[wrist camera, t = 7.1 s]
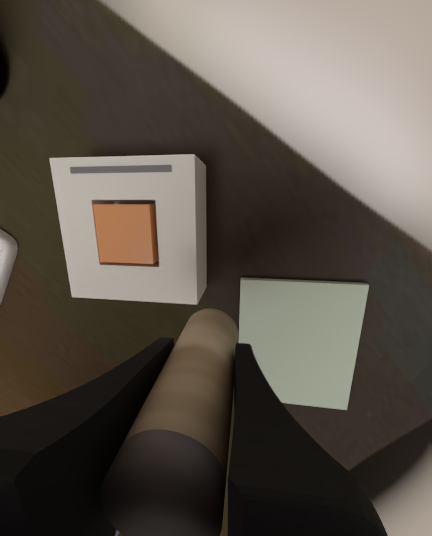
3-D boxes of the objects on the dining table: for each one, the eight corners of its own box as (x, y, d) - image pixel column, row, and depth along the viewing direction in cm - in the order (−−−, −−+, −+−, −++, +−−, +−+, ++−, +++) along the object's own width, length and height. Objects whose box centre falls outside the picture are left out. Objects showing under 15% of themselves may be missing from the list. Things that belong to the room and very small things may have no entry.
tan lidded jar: (238, 357, 13) (224, 564, 6) (187, 354, 14) (110, 543, 6) (237, 309, 12) (219, 472, 5) (183, 308, 13) (89, 456, 5)
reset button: (166, 256, 19) (153, 263, 16) (120, 254, 19) (100, 262, 17) (164, 205, 18) (149, 204, 15) (115, 204, 18) (92, 204, 16)
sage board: (344, 404, 22) (346, 409, 21) (237, 392, 23) (236, 397, 22) (365, 282, 19) (369, 285, 18) (240, 277, 20) (240, 279, 19)
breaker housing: (206, 286, 21) (196, 305, 17) (102, 281, 22) (70, 297, 18) (206, 165, 18) (194, 153, 14) (88, 168, 19) (48, 157, 15)
